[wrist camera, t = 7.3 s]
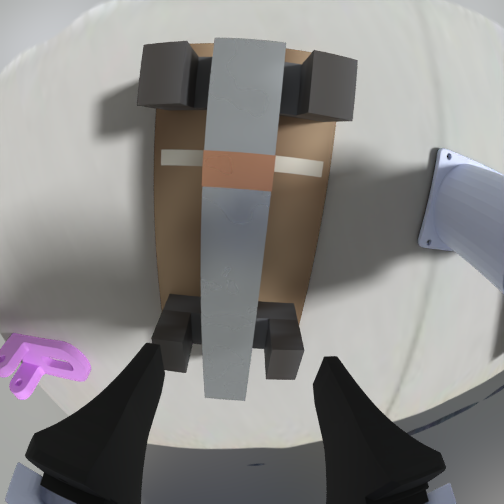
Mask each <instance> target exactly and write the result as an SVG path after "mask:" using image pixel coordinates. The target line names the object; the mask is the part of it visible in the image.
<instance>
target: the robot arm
mask: <svg viewBox="0 0 504 504" xmlns="http://www.w3.org/2000/svg"><path fill="white" fill-rule="evenodd" d="M447 154H448V155H449V157H448V159H447ZM428 240H429V242H428V243H427V241H428ZM418 244H419V246H421V247H423V248H431V249H439V250H447V251H455V252H456V253H457V254H459V255H460V256H461V257H462V258H464V259H465V260H466V261H467V262H468V263H470V264H471V265H472V266H473V267H474V268H475V269H477V270H478V271H479V272H480V273H481V274H482V275H483V276H485V277H486V278H487V279H488V280H489V281H490V282H491V283H492V284H493V285H494V286H496V287H497V288H498V289H499V290H500V291H501V292H502V293H503V294H504V175H503V174H501V173H499V172H497V171H495V170H493V169H491V168H489V167H487V166H485V165H483V164H480V163H478V162H476V161H474V160H472V159H469V158H467V157H465V156H463V155H460V154H458V153H455V152H453V151H450V150H448V149H445V148H440V149H439V150H438V153H437V159H436V165H435V171H434V176H433V181H432V186H431V191H430V195H429V200H428V204H427V208H426V212H425V216H424V220H423V223H422V227H421V231H420V234H419V238H418ZM164 377H165V371H164V366H163V360H162V354H161V348H160V345H158V344H152V343H146V344H145V345H144V346H143V347H142V348H141V350H140V351H139V352H138V353H137V355H136V356H135V357H134V358H133V359H132V361H131V362H130V363H129V364H128V365H127V366H126V367H125V369H124V370H123V371H122V372H121V373H120V374H119V375H118V376H117V377H116V378H115V379H114V380H113V381H112V382H111V383H110V384H109V385H108V386H107V387H106V388H105V389H104V390H103V391H102V392H101V393H100V394H99V395H97V396H96V397H95V398H94V399H93V400H91V401H90V402H89V403H88V404H86V405H85V406H84V407H82V408H81V409H79V410H78V411H77V412H75V413H74V414H72V415H70V416H69V417H67V418H65V419H64V420H62V421H60V422H58V423H57V424H55V425H53V426H50V427H48V428H46V429H44V430H41V431H39V432H37V433H35V434H34V435H33V437H32V439H31V441H30V444H29V446H28V449H27V452H26V454H25V456H26V458H27V459H28V460H29V461H30V462H31V463H32V464H34V465H35V466H36V467H38V468H39V469H41V470H42V471H43V472H44V474H43V477H42V476H41V475H39V474H38V473H36V472H34V471H33V470H31V469H29V468H27V467H26V466H24V465H23V464H21V463H20V462H18V463H17V465H16V468H15V471H14V474H13V477H12V479H11V482H10V485H9V488H8V492H7V495H6V498H5V501H6V502H7V503H8V504H141V487H142V475H143V467H144V459H145V451H146V445H147V440H148V436H149V432H150V428H151V425H152V422H153V419H154V415H155V412H156V409H157V406H158V403H159V399H160V396H161V393H162V387H163V382H164ZM313 391H314V402H315V407H316V412H317V416H318V421H319V425H320V430H321V434H322V439H323V443H324V449H325V461H326V478H327V479H326V480H327V500H326V504H457V503H456V500H455V497H454V493H453V491H452V487H451V484H450V483H448V484H446V485H444V486H442V487H440V488H437V489H435V490H433V491H431V492H429V493H426V489H428V487H429V486H428V481H430V480H432V479H433V478H435V477H436V476H437V475H439V474H440V473H442V472H443V471H444V470H445V469H446V466H445V463H444V460H443V458H442V455H441V453H440V452H438V451H436V450H434V449H432V448H430V447H428V446H426V445H424V444H422V443H420V442H419V441H417V440H416V439H414V438H413V437H411V436H410V435H408V434H407V433H406V432H404V431H403V430H402V429H400V428H399V427H398V426H396V425H395V424H394V423H393V422H392V421H391V420H390V419H388V418H387V417H386V416H385V415H384V414H383V413H382V412H381V411H380V410H379V409H378V408H377V407H376V406H375V405H374V403H373V402H372V401H371V400H370V399H369V398H368V397H367V395H366V394H365V393H364V392H363V390H362V389H361V388H360V387H359V385H358V384H357V383H356V382H355V380H354V379H353V378H352V376H351V375H350V374H349V372H348V371H347V369H346V368H345V367H344V365H343V364H342V363H341V361H340V360H339V358H338V357H337V356H331V357H324V359H323V361H322V364H321V366H320V368H319V371H318V373H317V376H316V378H315V380H314V383H313Z"/></svg>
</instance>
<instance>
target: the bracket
mask: <svg viewBox="0 0 504 504" xmlns="http://www.w3.org/2000/svg"><path fill="white" fill-rule="evenodd" d="M50 357H51V358H56V359H61V360H65V361H67V362H62V361H57V360H53V359H51V358H50ZM21 360H23V363H22V364H21V366H20V367H19V369H18V370H17V372H16V373H15V375H14V377H13V378H12V380H11V382H10V390H11V391H12V392H13V394H14V395H15V396H16V397H17V398H18V399H20V400H24V399H27V398H28V397H29V396H30V395H31V394H32V393H33V391H34V389H35V387H36V386H37V384H38V382H39V380H40V379H41V377H42V375H44V374H49V375H53V376H57V377H61V378H66V379H70V380H75V381H85V380H86V379H87V377H88V375H89V373H90V371H91V365H90V363H89V361H88V359H87V358H86V357H85V356H84V354H83V353H82V352H80V351H79V350H78V349H77V348H75V347H74V346H72V345H71V344H69V343H67V342H64V341H58V340H51V339H45V338H39V337H33V336H27V335H22V334H17V333H12V335H11V336H10V337H9V338H8V340H7V341H6V342H5V344H4V345H3V346H2V348H1V349H0V377H8V376H9V375H11V374H12V373H13V372H14V371H15V369H16V368H17V366H18V365H19V363H20V362H21ZM68 362H69V363H68Z"/></svg>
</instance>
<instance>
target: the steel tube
mask: <svg viewBox="0 0 504 504" xmlns="http://www.w3.org/2000/svg"><path fill="white" fill-rule="evenodd" d="M285 51H286V43H284V42H276V41H267V40H256V39H240V38H215V40H214V48H213V56H212V65H211V74H210V84H209V95H208V106H207V118H206V131H205V146H204V150H203V167H202V211H201V328H202V355H203V375H204V392H205V398H214V399H226V400H241V401H245V398H246V391H247V383H248V376H249V368H250V361H251V353H252V346H253V338H254V330H255V322H256V314H257V306H258V298H259V290H260V282H261V274H262V266H263V257H264V249H265V241H266V232H267V223H268V215H269V206H270V197H271V192H272V186H273V177H274V168H275V159H276V155H275V151H276V142H277V132H278V123H279V113H280V103H281V93H282V83H283V72H284V62H285Z"/></svg>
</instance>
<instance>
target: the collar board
mask: <svg viewBox="0 0 504 504" xmlns="http://www.w3.org/2000/svg"><path fill="white" fill-rule="evenodd" d="M213 48H214V43H200V44H189V43H188V42H187V41H178V42H165V43H155V44H147V45H144V47H143V54H142V61H141V69H140V78H139V88H138V100H137V105H138V106H145V107H151V108H156V121H155V142H154V217H155V239H156V255H157V268H158V280H159V290H160V299H161V308H162V313H161V316H160V318H159V321H158V323H157V326H156V328H155V331H154V333H153V336H152V344H158V345H160V348H161V354H162V360H163V366H164V370H168V371H174V372H182V373H186V371H187V366H188V362H189V357H190V353H191V348H192V344H193V343H194V344H202V328H201V211H202V167H203V150H204V146H205V131H206V118H207V106H208V95H209V84H210V74H211V65H212V56H213ZM357 61H358V60H355V59H351V58H347V57H343V56H339V55H335V54H330V53H326V52H321V51H316V50H314V51H313V52H312V53H311V52H305V51H299V50H293V49H286V51H285V62H284V72H283V83H282V93H281V103H280V113H279V123H278V132H277V142H276V151H275V155H276V159H275V168H274V177H273V186H272V192H271V197H270V206H269V215H268V223H267V232H266V241H265V249H264V257H263V266H262V274H261V282H260V290H259V298H258V306H257V314H256V322H255V330H254V338H253V346H252V348H257V349H264V353H265V370H266V379H277V380H295V378H296V375H297V372H298V369H299V366H300V362H301V359H302V356H303V353H304V347H303V342H302V337H301V333H300V328H299V323H300V319H301V315H302V311H303V307H304V302H305V298H306V294H307V289H308V285H309V280H310V276H311V271H312V266H313V262H314V257H315V252H316V247H317V242H318V236H319V231H320V226H321V220H322V215H323V209H324V203H325V197H326V191H327V185H328V178H329V172H330V165H331V158H332V151H333V143H334V135H335V127H336V122H338V121H352V119H353V110H354V100H355V89H356V76H357Z"/></svg>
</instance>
